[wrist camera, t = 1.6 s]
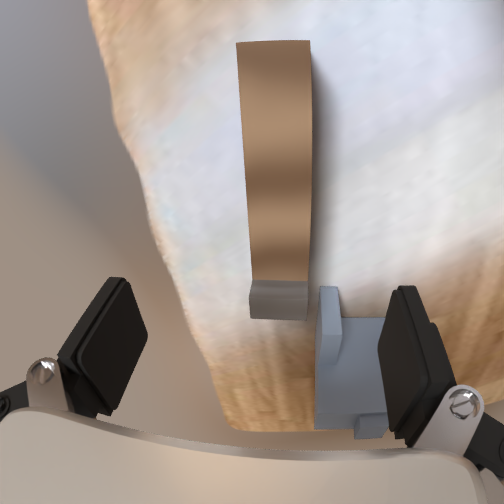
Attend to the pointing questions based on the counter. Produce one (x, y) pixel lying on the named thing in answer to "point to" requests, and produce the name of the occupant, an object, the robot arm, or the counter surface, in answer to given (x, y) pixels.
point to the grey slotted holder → (348, 371)
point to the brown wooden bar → (277, 172)
